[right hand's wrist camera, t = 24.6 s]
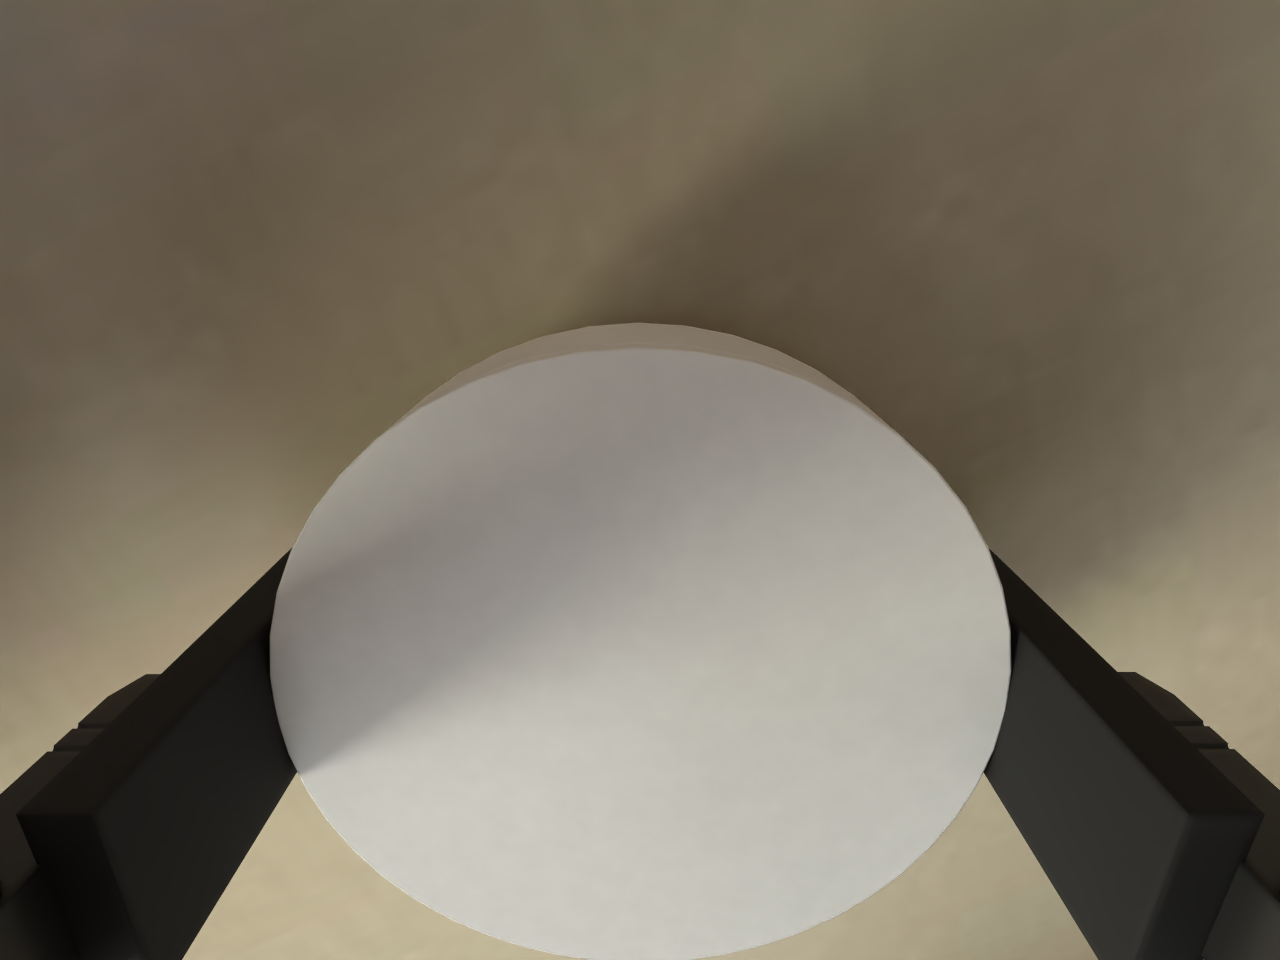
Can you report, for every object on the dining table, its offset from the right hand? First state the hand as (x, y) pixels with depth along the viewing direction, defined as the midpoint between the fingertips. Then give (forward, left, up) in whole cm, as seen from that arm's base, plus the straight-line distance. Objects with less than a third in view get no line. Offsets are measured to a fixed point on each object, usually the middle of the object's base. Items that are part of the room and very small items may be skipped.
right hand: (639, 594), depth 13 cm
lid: (0, 0, +3) cm, 3 cm away
